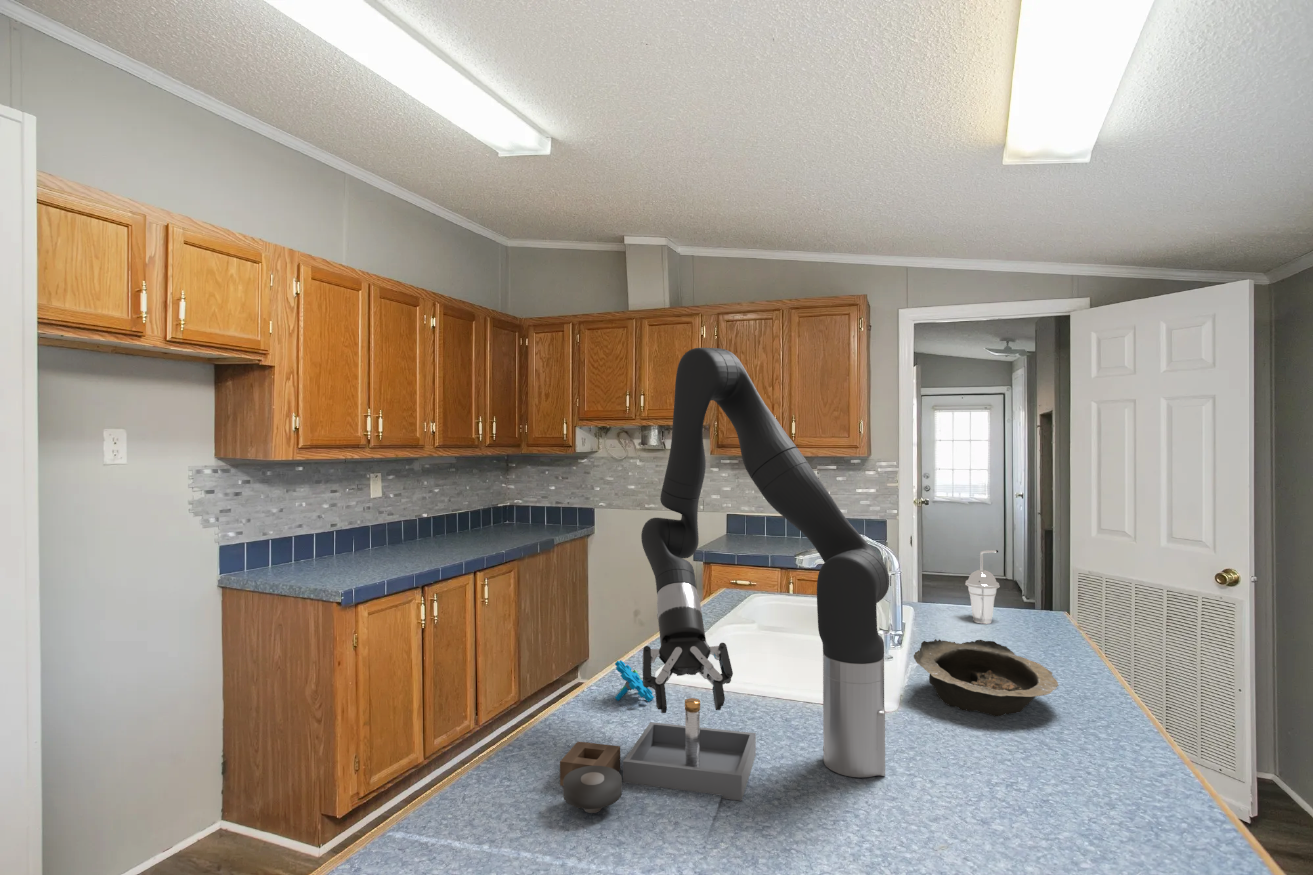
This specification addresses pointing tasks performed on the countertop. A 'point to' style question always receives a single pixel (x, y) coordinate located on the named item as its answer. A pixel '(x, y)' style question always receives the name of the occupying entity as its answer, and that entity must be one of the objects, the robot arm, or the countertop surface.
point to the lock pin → (692, 732)
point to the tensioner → (591, 776)
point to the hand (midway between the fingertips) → (691, 709)
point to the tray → (719, 770)
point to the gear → (632, 682)
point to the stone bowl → (983, 676)
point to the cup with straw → (982, 592)
